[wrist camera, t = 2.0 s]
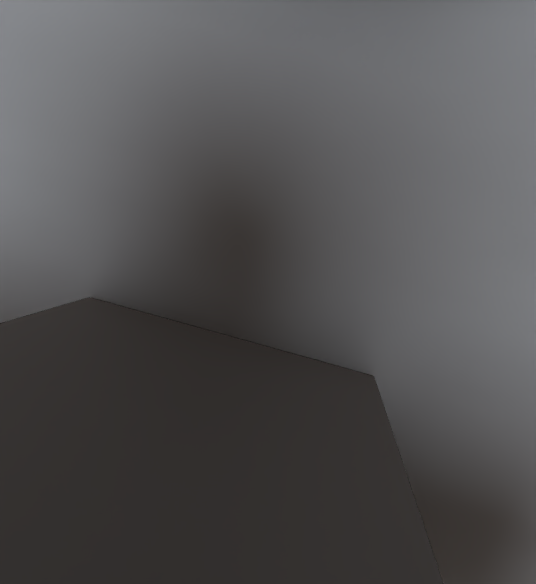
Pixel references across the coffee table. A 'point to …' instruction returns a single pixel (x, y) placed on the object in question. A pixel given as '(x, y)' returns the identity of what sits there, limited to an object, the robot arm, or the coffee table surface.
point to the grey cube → (193, 460)
